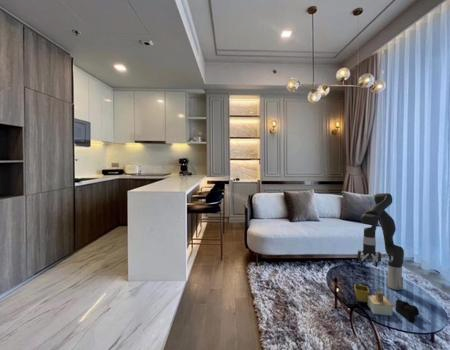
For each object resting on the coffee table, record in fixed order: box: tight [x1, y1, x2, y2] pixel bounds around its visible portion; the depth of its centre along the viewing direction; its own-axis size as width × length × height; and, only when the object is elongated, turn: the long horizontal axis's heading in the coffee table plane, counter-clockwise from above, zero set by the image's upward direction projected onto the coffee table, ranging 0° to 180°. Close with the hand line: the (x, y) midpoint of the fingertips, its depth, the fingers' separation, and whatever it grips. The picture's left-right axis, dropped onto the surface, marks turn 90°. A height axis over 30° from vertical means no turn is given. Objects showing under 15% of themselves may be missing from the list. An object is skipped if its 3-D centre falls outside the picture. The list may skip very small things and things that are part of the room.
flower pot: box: [353, 284, 370, 303], centre depth 179 cm, size 9×9×9 cm
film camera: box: [395, 298, 420, 323], centre depth 160 cm, size 15×10×9 cm, turn 178°
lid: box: [367, 290, 394, 308], centre depth 166 cm, size 12×12×7 cm
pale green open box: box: [367, 298, 393, 316], centre depth 166 cm, size 11×11×6 cm
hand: (368, 266), depth 173 cm, fingers open, 8 cm apart
